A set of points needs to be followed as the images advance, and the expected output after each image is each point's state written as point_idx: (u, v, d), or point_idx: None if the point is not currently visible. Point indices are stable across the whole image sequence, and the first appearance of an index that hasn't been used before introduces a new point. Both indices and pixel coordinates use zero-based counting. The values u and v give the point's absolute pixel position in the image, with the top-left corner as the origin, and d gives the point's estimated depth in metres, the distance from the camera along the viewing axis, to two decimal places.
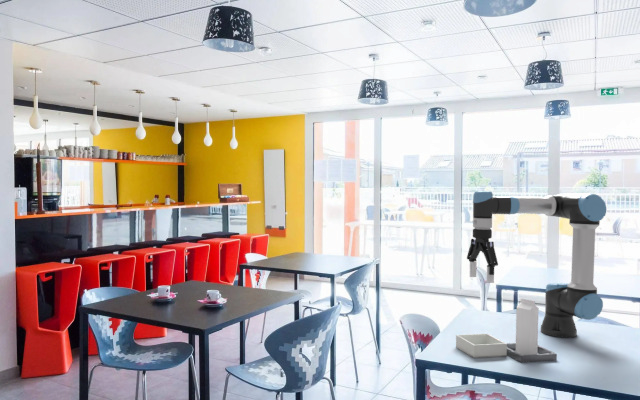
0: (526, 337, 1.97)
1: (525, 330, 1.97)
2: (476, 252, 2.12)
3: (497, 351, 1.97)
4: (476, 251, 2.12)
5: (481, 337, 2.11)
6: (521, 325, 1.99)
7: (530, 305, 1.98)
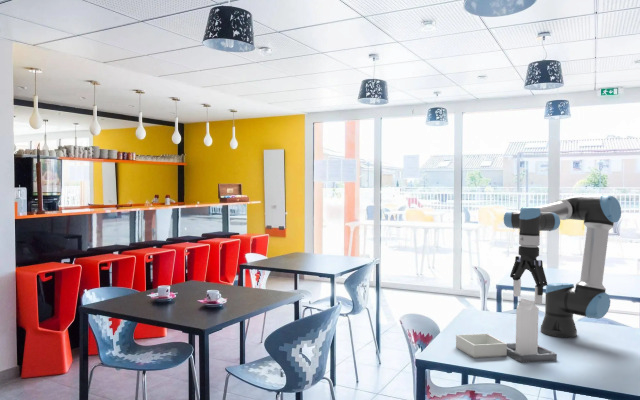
0: (526, 337, 1.97)
1: (525, 330, 1.97)
2: (521, 270, 2.03)
3: (497, 351, 1.97)
4: (521, 269, 2.03)
5: (481, 337, 2.11)
6: (521, 325, 1.99)
7: (530, 305, 1.98)
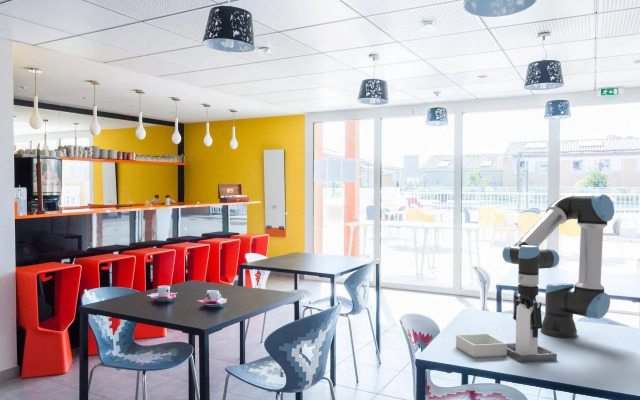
0: (526, 337, 1.97)
1: (525, 330, 1.97)
2: None
3: (497, 351, 1.97)
4: None
5: (481, 337, 2.11)
6: (521, 325, 1.99)
7: None
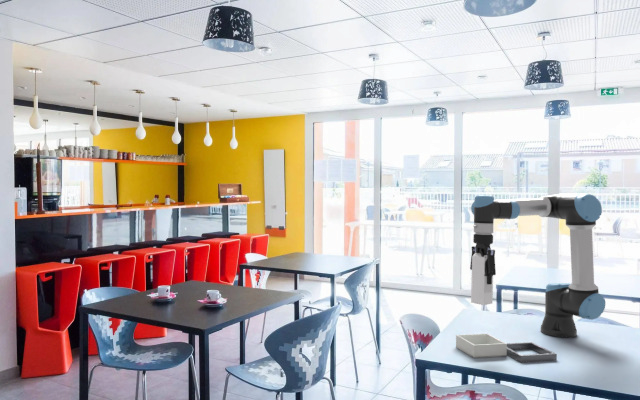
0: (480, 285, 2.00)
1: (480, 278, 2.00)
2: None
3: (497, 351, 1.97)
4: None
5: (481, 337, 2.11)
6: (476, 273, 2.02)
7: None
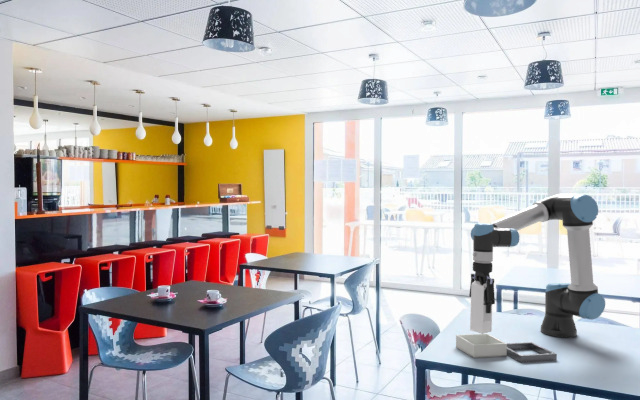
0: (479, 313, 2.00)
1: (479, 306, 2.01)
2: None
3: (497, 351, 1.97)
4: None
5: (481, 337, 2.11)
6: (475, 301, 2.02)
7: None
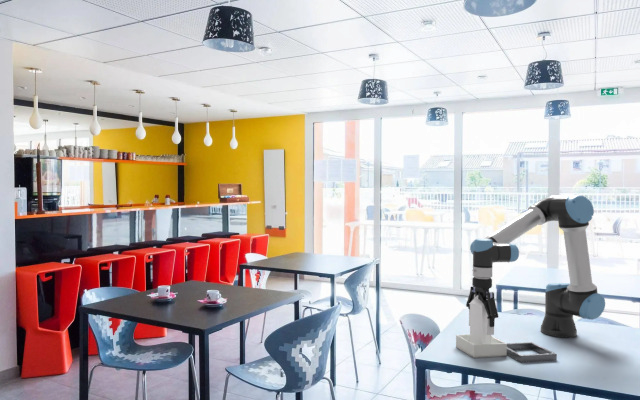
0: (479, 332, 2.00)
1: (478, 325, 2.01)
2: None
3: (497, 351, 1.97)
4: None
5: None
6: (474, 320, 2.02)
7: None
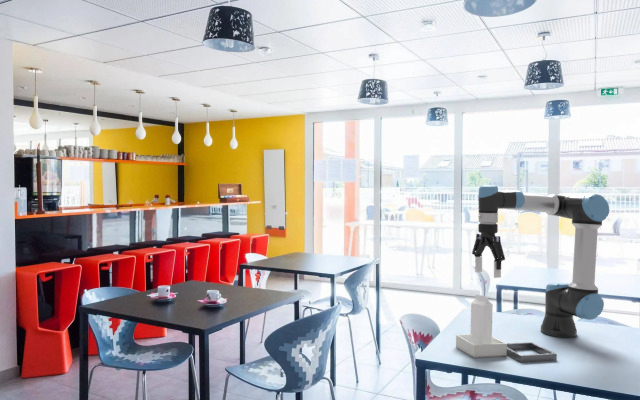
0: (479, 332, 2.00)
1: (478, 325, 2.01)
2: (482, 247, 2.11)
3: (497, 351, 1.97)
4: (482, 246, 2.11)
5: None
6: (475, 320, 2.02)
7: (484, 301, 2.01)
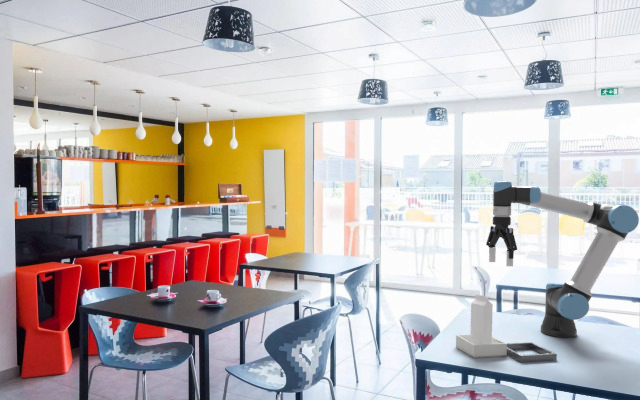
0: (479, 332, 2.00)
1: (478, 325, 2.01)
2: (495, 238, 2.27)
3: (497, 351, 1.97)
4: (495, 237, 2.27)
5: None
6: (475, 320, 2.02)
7: (484, 301, 2.01)
